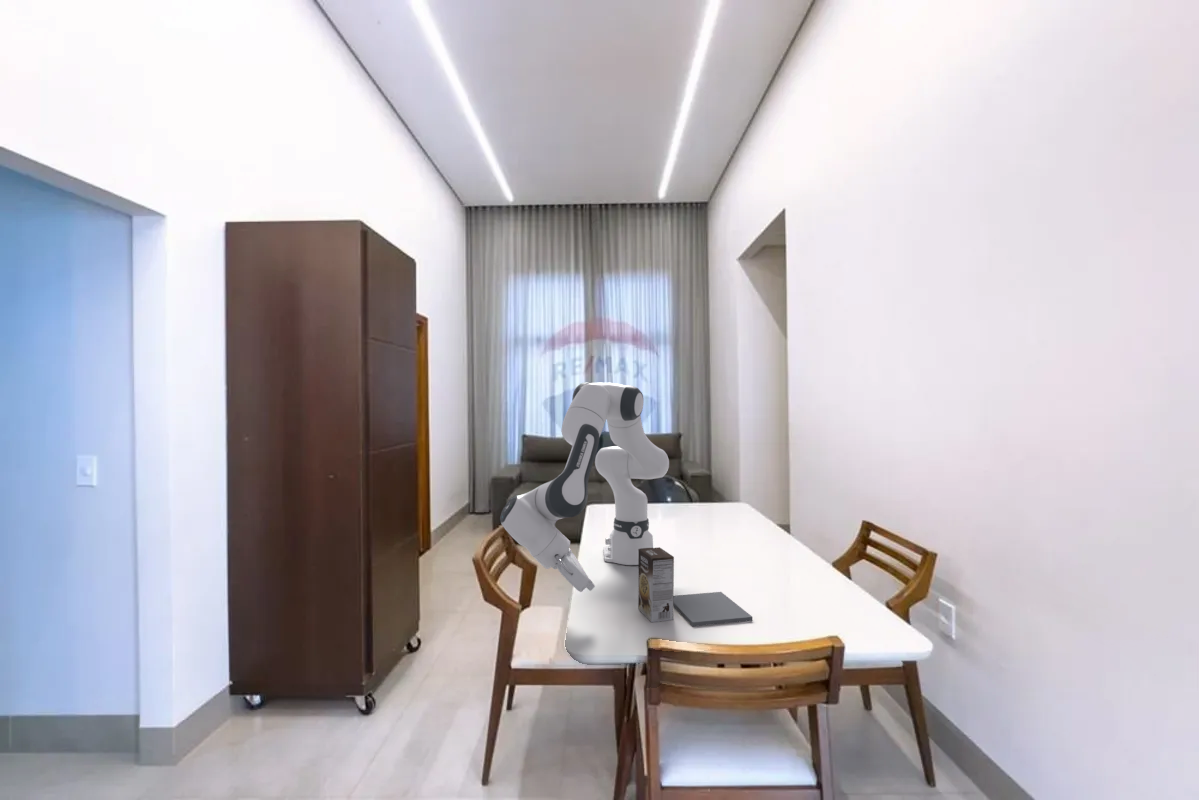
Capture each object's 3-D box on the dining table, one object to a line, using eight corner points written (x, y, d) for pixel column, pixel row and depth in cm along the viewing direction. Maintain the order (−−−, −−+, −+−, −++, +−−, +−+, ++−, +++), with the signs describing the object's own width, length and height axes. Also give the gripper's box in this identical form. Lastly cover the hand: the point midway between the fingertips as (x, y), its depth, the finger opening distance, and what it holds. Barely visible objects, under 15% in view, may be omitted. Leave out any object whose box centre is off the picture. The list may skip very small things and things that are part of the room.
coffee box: (637, 609, 143) (637, 548, 143) (659, 606, 145) (659, 546, 145) (650, 623, 135) (650, 558, 134) (674, 619, 136) (674, 555, 136)
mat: (667, 599, 150) (667, 596, 150) (721, 595, 154) (721, 591, 154) (692, 626, 133) (692, 622, 132) (752, 620, 136) (752, 616, 136)
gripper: (568, 552, 124) (610, 591, 127) (556, 530, 144) (592, 565, 147) (549, 573, 123) (591, 612, 126) (539, 548, 143) (575, 582, 146)
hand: (591, 586), depth 136 cm, fingers closed
